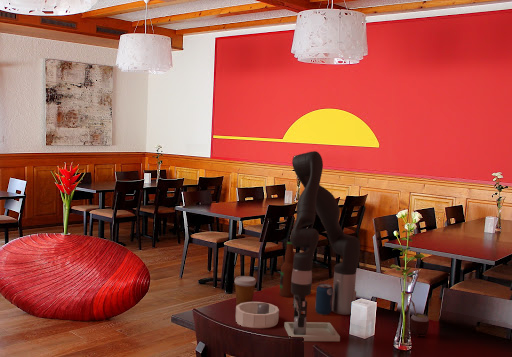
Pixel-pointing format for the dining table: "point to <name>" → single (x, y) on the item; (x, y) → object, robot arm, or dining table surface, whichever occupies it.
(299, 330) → the grey cylinder
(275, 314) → the bowl
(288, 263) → the bottle
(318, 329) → the tray
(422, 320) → the mate gourd
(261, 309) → the grey cylinder
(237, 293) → the disposable coffee cup
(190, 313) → the dining table surface
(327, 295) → the soda can
